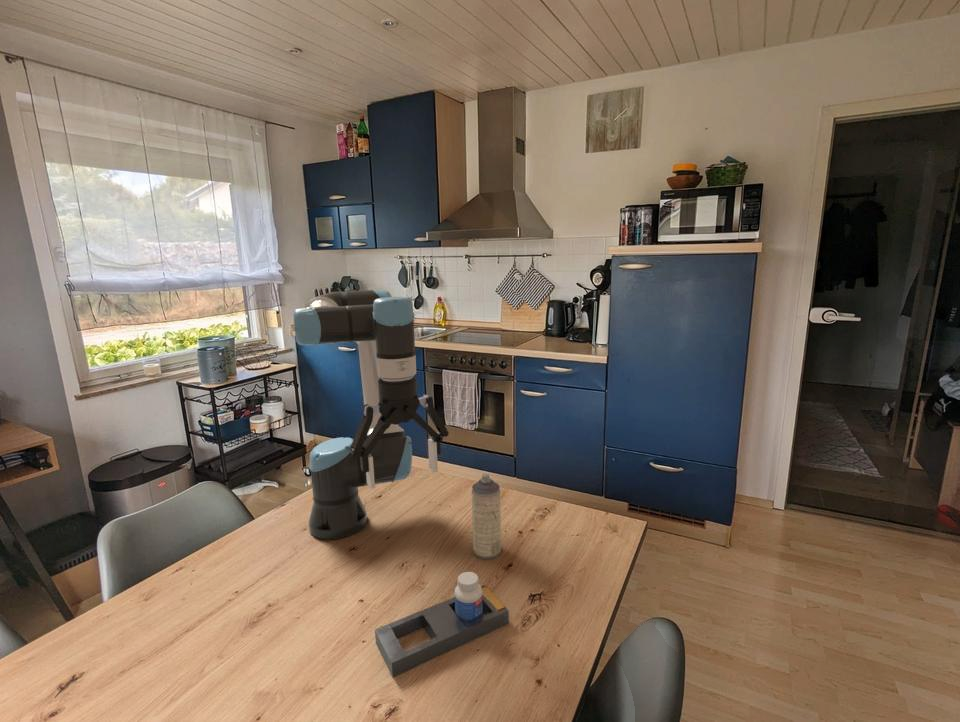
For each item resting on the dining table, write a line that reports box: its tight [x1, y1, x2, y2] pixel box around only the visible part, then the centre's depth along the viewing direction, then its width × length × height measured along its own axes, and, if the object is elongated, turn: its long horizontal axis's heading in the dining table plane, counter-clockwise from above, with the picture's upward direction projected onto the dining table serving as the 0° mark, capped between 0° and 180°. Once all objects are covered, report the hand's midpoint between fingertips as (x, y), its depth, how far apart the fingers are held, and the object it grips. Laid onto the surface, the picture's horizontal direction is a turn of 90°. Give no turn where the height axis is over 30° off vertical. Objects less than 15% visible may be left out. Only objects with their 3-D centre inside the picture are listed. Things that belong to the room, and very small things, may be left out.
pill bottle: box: [454, 571, 484, 625], centre depth 95 cm, size 6×5×10 cm
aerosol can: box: [471, 473, 502, 560], centre depth 117 cm, size 7×7×20 cm
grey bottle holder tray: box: [374, 584, 510, 678], centre depth 93 cm, size 9×24×3 cm, turn 120°
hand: (403, 477), depth 100 cm, fingers open, 13 cm apart
